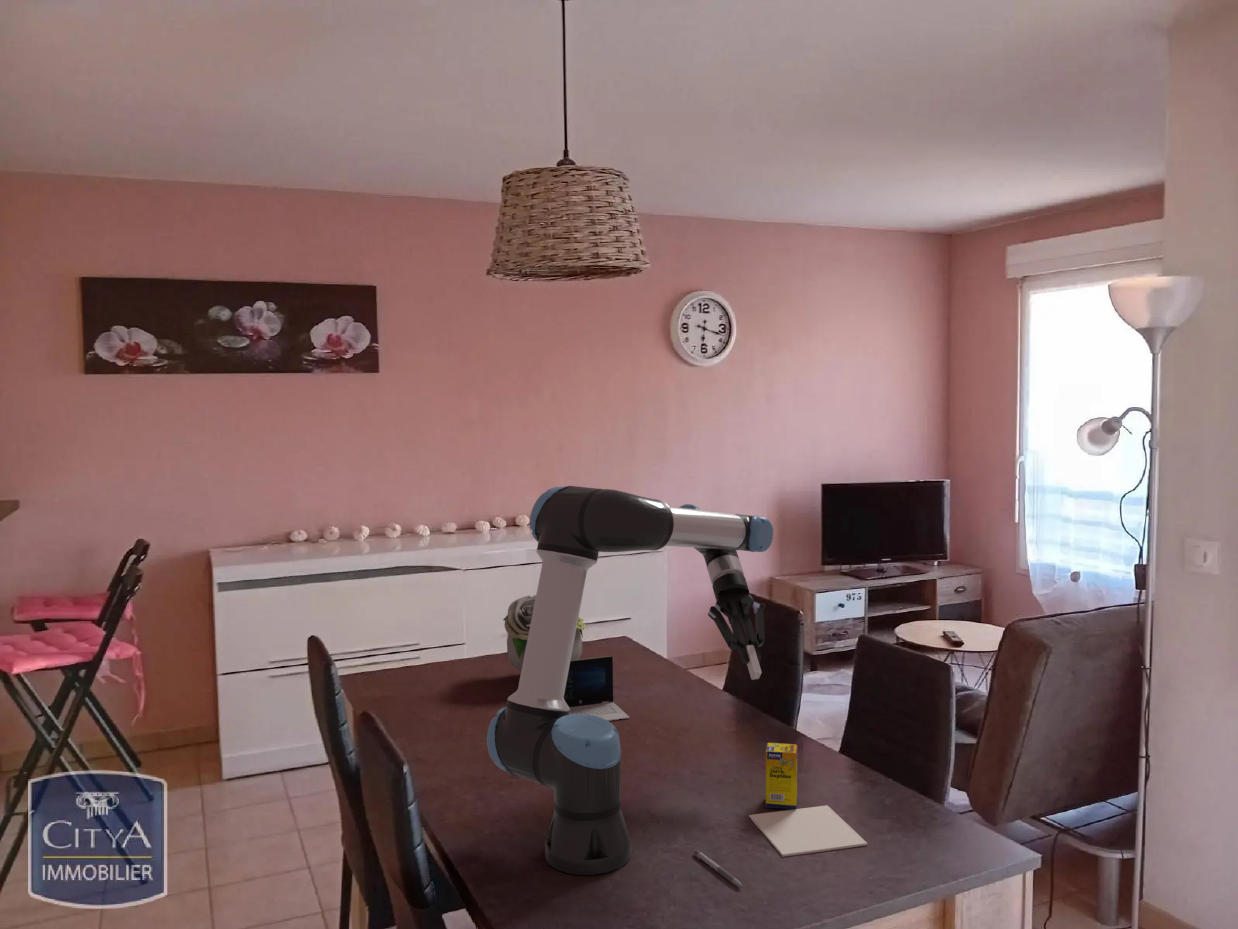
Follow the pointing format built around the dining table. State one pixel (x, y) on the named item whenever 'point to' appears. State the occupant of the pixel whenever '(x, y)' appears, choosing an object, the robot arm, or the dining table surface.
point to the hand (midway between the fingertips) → (756, 676)
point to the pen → (717, 868)
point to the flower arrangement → (519, 631)
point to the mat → (806, 830)
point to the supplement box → (781, 775)
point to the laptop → (592, 688)
